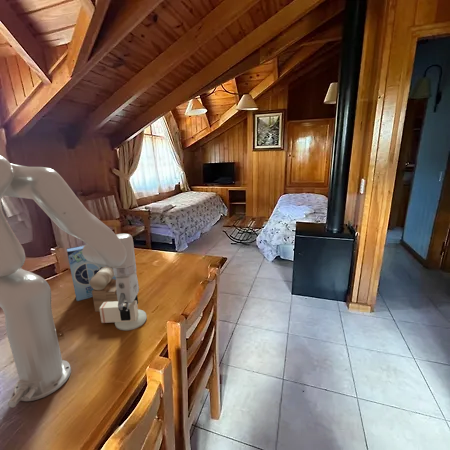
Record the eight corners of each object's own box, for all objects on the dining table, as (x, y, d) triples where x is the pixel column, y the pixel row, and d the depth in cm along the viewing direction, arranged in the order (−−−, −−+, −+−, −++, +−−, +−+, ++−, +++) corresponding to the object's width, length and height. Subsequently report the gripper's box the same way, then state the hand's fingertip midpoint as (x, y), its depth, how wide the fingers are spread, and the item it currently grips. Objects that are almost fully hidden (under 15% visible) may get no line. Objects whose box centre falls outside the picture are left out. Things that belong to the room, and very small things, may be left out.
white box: (135, 321, 92) (133, 306, 90) (101, 322, 91) (99, 308, 89) (138, 314, 96) (136, 300, 94) (105, 316, 95) (103, 301, 93)
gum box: (121, 284, 121) (116, 239, 115) (124, 288, 117) (118, 242, 111) (75, 296, 111) (66, 247, 105) (76, 302, 107) (66, 251, 101)
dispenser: (119, 310, 100) (115, 276, 97) (93, 311, 100) (88, 277, 96) (127, 297, 110) (123, 265, 106) (104, 298, 109) (99, 266, 106)
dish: (142, 329, 89) (142, 326, 89) (110, 331, 88) (110, 328, 88) (149, 311, 100) (149, 308, 99) (121, 312, 99) (120, 309, 99)
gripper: (128, 280, 80) (133, 326, 85) (141, 259, 97) (146, 298, 102) (104, 281, 80) (110, 327, 84) (122, 259, 97) (127, 299, 101)
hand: (130, 311), depth 93 cm, fingers open, 9 cm apart
